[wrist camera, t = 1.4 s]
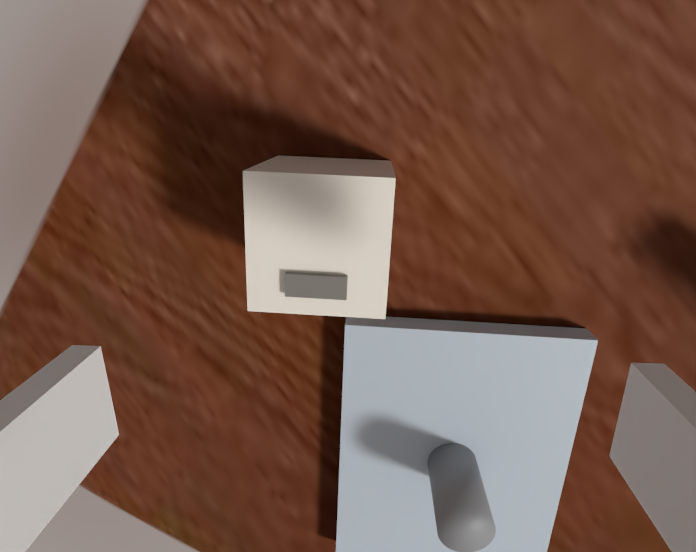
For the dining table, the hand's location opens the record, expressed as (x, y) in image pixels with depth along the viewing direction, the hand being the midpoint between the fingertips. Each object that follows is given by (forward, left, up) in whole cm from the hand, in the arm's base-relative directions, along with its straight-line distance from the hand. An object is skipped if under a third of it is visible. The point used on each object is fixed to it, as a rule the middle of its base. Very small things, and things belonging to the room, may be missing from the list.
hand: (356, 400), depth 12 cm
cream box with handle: (-2, -2, -15) cm, 15 cm away
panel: (+13, +6, -15) cm, 21 cm away
